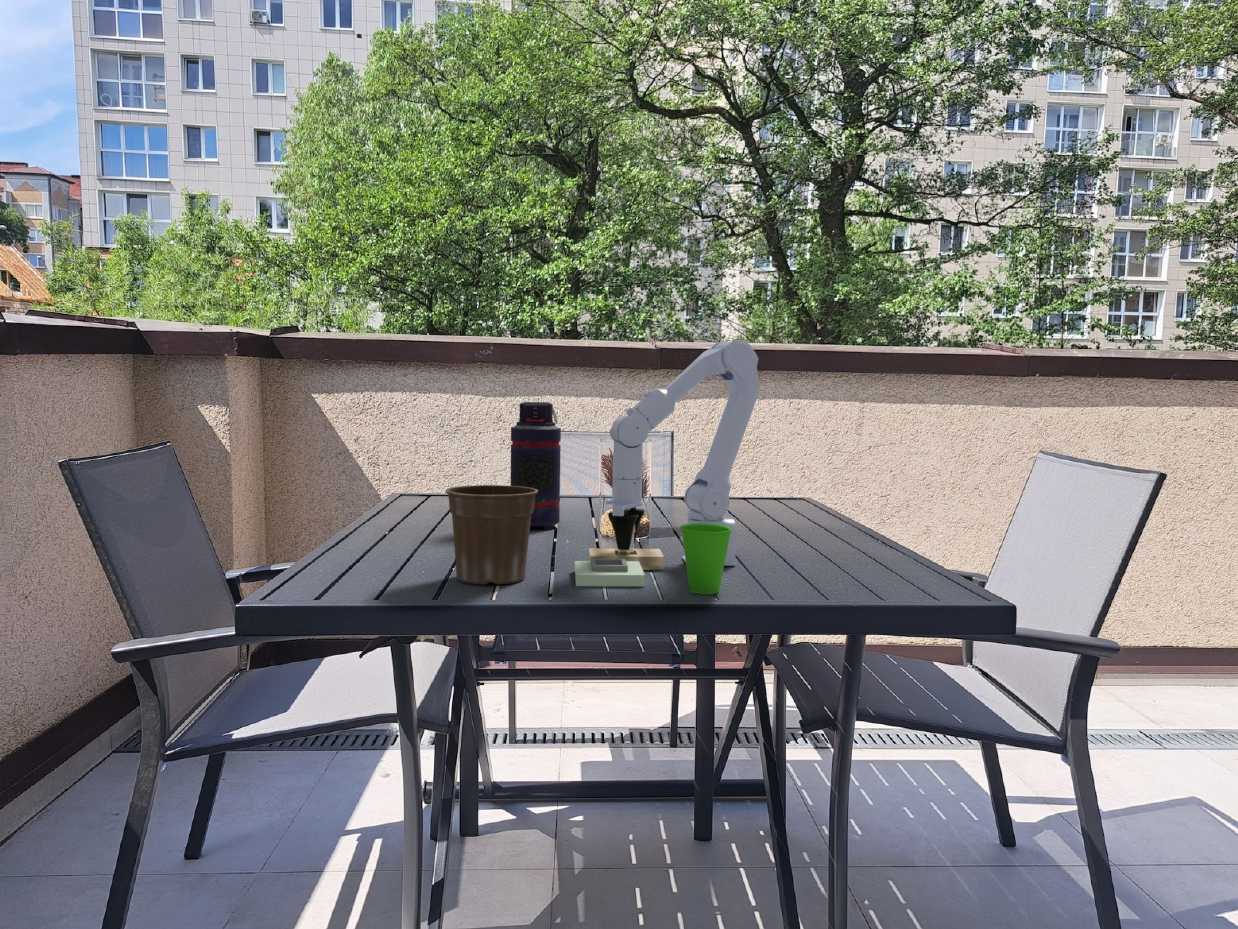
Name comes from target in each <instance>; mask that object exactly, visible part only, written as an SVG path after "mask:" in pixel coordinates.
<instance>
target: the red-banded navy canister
mask: <svg viewBox="0 0 1238 929" xmlns="http://www.w3.org/2000/svg"><path fill="white" fill-rule="evenodd" d="M518 418H519V419H518V421H517V422H516V424H515V425H514V426H511V428H510V442H511V444H510V486H520V487H529V488H534V489H537V490H538V493H537V494H536V495H535V501H534V511H533V513H532V514H531V522H530V527H544V530H545V531H549V530H548V529H550V530H553V528H554V527H553V526H556V525H558V524H559V523H560V520H561V519H560V518H561V517H560V516H561V515H560V512H561V508H560V507H561V505H560V503H559V502H560V501H561V449H562V448H561V445H560V442H561V439H562V438H561V436H562V432H561V431H562V429H561V427H558V426H556V425H558V417H557V414H556V411H555V409H554V406H553V403H552V402H540V401H523V402H521V403H519V417H518ZM553 419H554V420H553Z"/></svg>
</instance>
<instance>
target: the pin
mask: <svg viewBox="0 0 1238 929" xmlns="http://www.w3.org/2000/svg"><path fill="white" fill-rule="evenodd" d="M634 533H635V525H634V528H633V532H632V539H631V545H630V548H629V550H618V555H634V549H635V548H634V547H635V543H634Z"/></svg>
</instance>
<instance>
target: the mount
mask: <svg viewBox="0 0 1238 929" xmlns="http://www.w3.org/2000/svg"><path fill="white" fill-rule="evenodd" d="M590 559H625V560H626V561H639V563H640V565H641V567H642V569H643V571H644V570H648V571H649V570H651V571H656V570H658V571H659V570H660V571H661V570H664V569H665V555H664V554H663V552H662V551H661V549H660V548H634V555H618V548H606V547H605V548H601V547H600V548H597V547H596V548H594V547H593V548H592V547H591V548H588V561H590Z"/></svg>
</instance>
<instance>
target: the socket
mask: <svg viewBox="0 0 1238 929" xmlns="http://www.w3.org/2000/svg"><path fill="white" fill-rule="evenodd" d="M574 579H575V587H645V586H646V574H645V572H644V570H643V569H642V567H641V565H640V563H639V561H626V560H625V559H590V561H589V560H575V561H574Z"/></svg>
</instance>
